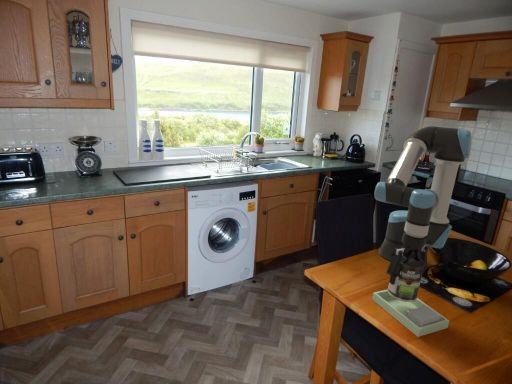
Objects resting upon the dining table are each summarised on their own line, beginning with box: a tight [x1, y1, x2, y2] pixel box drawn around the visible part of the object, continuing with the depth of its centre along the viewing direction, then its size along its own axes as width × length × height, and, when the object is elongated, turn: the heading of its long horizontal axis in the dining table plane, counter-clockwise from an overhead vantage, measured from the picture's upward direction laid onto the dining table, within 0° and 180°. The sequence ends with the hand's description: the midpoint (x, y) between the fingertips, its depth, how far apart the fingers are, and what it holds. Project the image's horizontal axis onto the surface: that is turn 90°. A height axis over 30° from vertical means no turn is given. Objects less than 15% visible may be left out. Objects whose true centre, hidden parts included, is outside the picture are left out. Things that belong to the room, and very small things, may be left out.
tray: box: [371, 289, 450, 338], centre depth 124 cm, size 14×22×4 cm, turn 23°
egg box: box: [408, 306, 440, 328], centre depth 118 cm, size 8×6×4 cm
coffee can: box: [387, 255, 425, 302], centre depth 124 cm, size 10×10×14 cm
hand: (403, 288), depth 125 cm, fingers closed on coffee can, 10 cm apart
